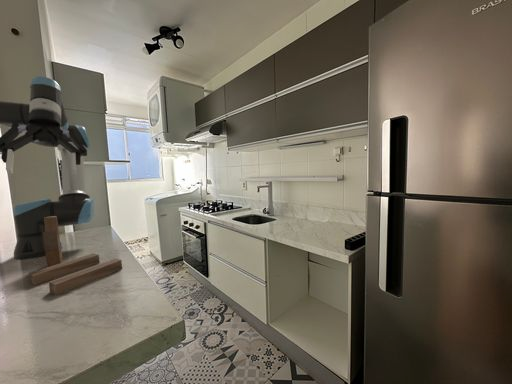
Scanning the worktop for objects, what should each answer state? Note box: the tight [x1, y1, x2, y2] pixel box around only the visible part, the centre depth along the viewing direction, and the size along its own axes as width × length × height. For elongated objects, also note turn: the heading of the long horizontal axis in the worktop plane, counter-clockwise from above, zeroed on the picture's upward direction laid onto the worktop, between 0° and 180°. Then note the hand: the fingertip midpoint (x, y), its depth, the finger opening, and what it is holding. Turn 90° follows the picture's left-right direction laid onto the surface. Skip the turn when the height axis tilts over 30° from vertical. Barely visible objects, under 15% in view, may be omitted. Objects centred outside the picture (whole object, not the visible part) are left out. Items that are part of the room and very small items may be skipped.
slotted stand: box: [27, 252, 123, 296], centre depth 71 cm, size 18×18×3 cm
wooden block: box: [43, 216, 63, 268], centre depth 80 cm, size 4×11×18 cm, turn 40°
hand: (44, 172), depth 63 cm, fingers open, 13 cm apart
